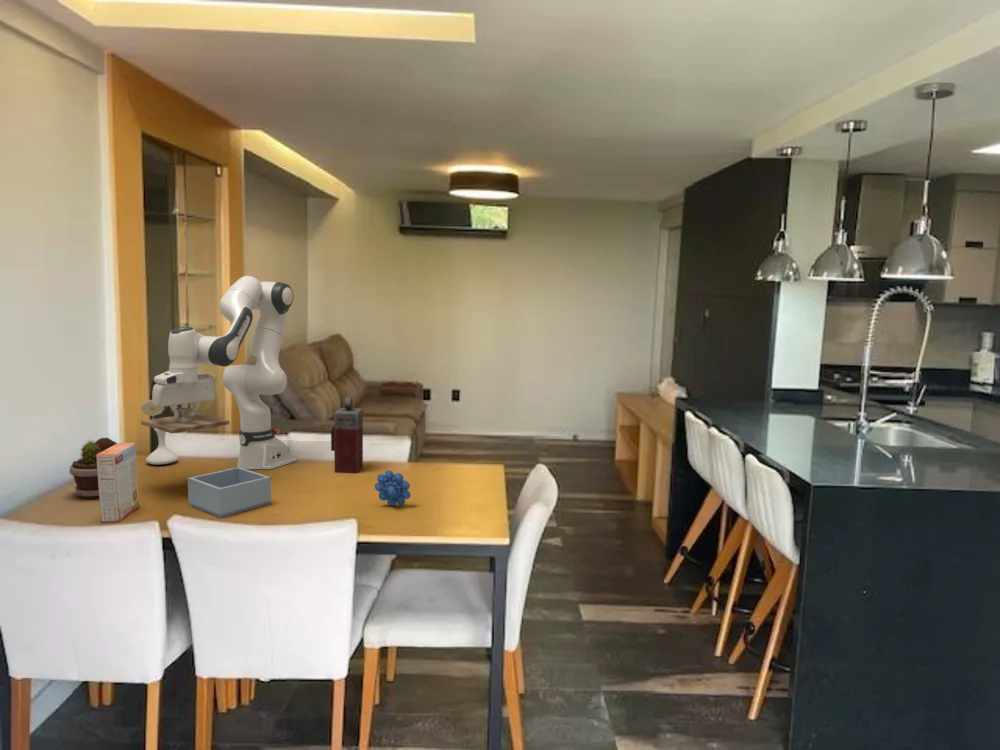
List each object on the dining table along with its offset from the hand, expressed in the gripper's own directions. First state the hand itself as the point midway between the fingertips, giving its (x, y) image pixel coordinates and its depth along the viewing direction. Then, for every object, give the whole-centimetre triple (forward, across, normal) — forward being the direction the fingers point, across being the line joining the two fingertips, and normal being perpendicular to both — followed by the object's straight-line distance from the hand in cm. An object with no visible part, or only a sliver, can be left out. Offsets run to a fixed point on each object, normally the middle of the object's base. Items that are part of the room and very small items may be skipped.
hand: (185, 416), depth 236 cm
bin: (+26, -1, +24) cm, 35 cm away
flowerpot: (+26, +22, -17) cm, 38 cm away
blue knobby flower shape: (+26, -34, +64) cm, 77 cm away
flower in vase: (+26, -11, -40) cm, 49 cm away
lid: (+3, 0, 0) cm, 3 cm away
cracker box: (+26, +26, +8) cm, 37 cm away
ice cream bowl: (+26, +11, -33) cm, 43 cm away
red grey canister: (+26, -53, +19) cm, 62 cm away
